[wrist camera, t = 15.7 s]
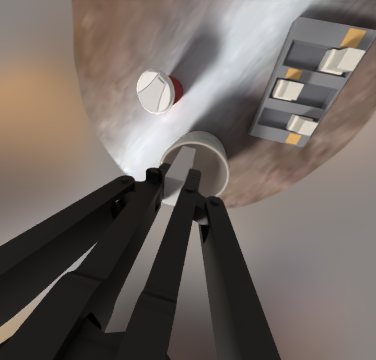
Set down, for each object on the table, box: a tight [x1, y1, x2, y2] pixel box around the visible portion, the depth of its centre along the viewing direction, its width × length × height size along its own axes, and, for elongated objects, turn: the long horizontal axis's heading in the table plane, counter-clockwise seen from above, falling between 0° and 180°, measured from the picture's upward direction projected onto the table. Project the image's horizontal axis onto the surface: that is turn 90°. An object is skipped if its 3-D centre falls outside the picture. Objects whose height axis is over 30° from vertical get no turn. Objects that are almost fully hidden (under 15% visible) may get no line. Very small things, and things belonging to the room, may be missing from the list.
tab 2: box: [285, 114, 318, 136], centre depth 35 cm, size 3×4×6 cm
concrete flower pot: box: [160, 131, 230, 198], centre depth 41 cm, size 17×17×15 cm
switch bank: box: [248, 17, 376, 147], centre depth 34 cm, size 22×14×3 cm, turn 170°
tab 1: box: [271, 80, 304, 101], centre depth 32 cm, size 3×4×6 cm
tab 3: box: [316, 48, 365, 75], centre depth 28 cm, size 3×4×6 cm
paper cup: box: [137, 69, 183, 114], centre depth 34 cm, size 8×8×14 cm
